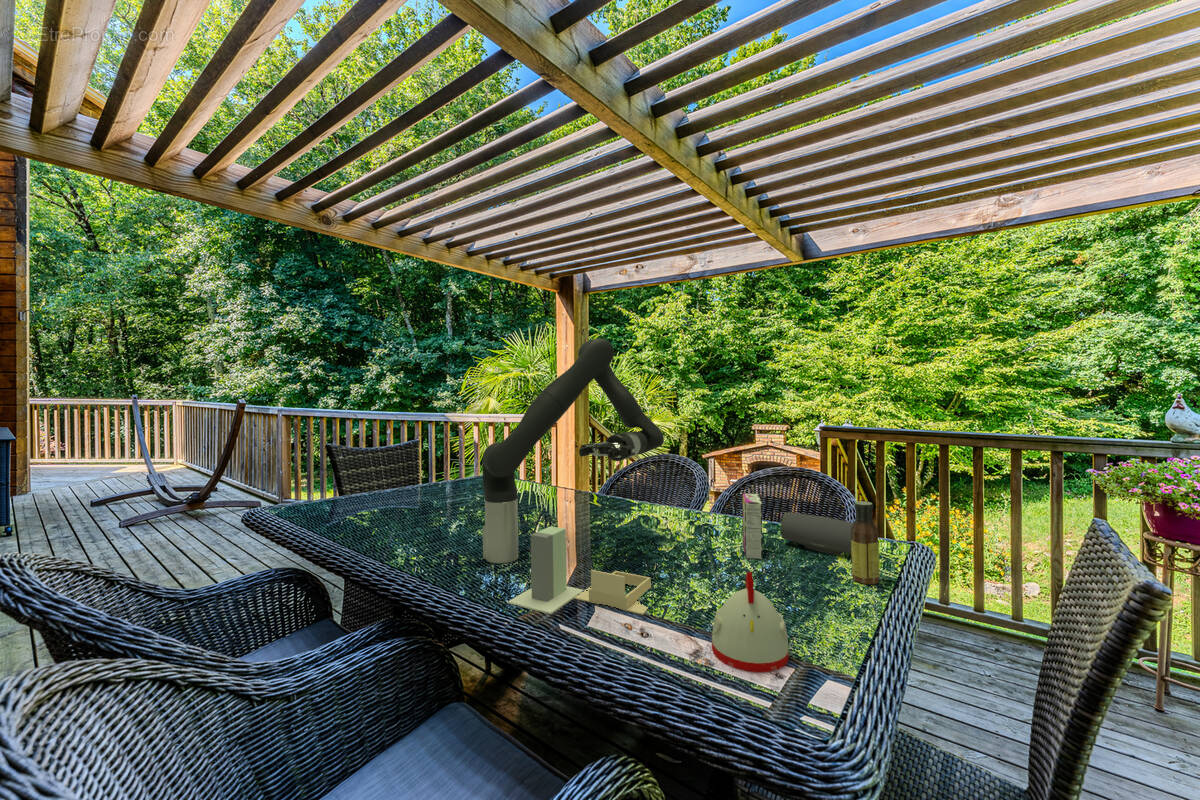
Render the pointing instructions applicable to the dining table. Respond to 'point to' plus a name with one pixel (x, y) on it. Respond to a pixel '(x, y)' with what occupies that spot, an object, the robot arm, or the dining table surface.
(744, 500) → the candy bar box
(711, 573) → the dining table surface
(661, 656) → the dining table surface
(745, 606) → the kitchen timer
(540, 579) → the slim sage box
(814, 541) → the bluetooth speaker
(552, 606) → the mat
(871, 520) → the sauce bottle
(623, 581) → the tan open holder
